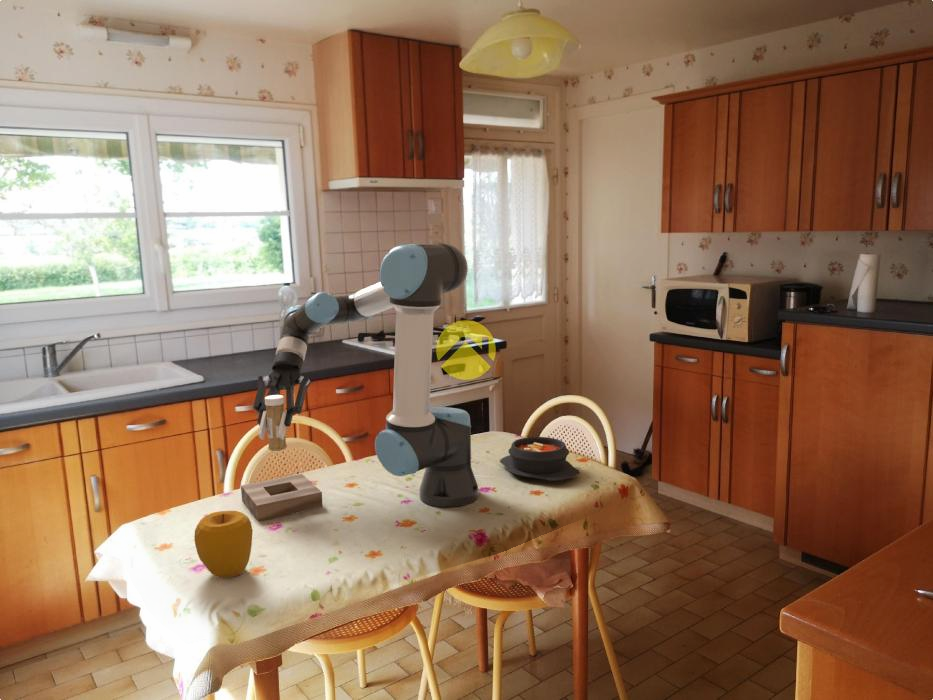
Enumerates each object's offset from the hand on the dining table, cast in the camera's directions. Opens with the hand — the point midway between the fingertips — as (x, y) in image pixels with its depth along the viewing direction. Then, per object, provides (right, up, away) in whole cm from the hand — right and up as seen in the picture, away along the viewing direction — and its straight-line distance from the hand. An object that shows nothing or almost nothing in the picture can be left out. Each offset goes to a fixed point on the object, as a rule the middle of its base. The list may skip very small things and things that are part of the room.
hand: (270, 436), depth 171 cm
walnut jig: (+1, -18, +7) cm, 19 cm away
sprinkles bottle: (0, -4, +5) cm, 6 cm away
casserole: (+68, -14, +26) cm, 74 cm away
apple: (-1, -24, -30) cm, 38 cm away
